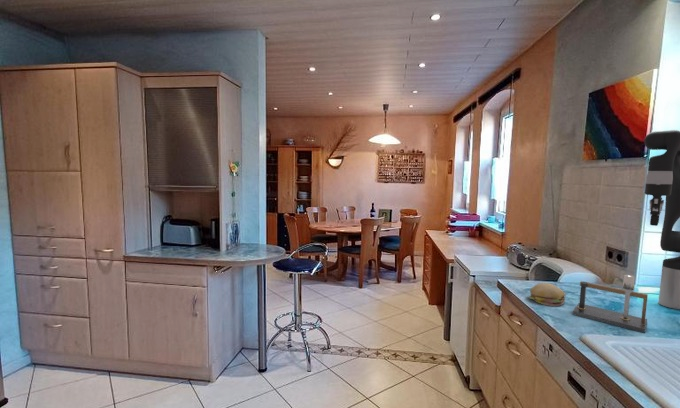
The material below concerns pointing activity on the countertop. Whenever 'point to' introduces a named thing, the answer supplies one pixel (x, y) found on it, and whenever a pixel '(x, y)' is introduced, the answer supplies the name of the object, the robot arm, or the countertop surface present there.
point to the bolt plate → (608, 315)
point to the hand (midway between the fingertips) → (654, 224)
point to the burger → (547, 294)
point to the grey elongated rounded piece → (628, 292)
